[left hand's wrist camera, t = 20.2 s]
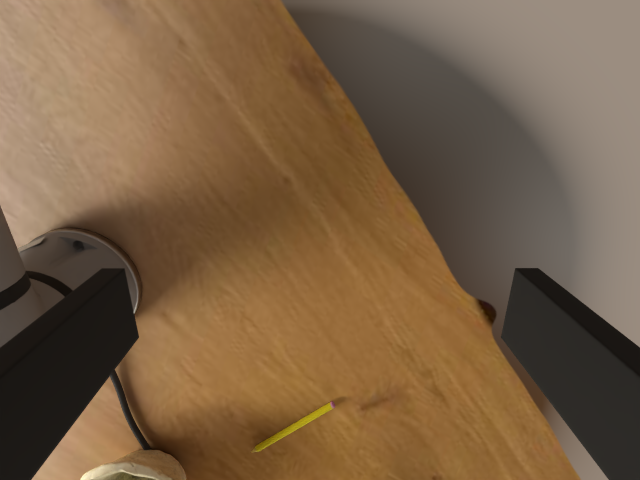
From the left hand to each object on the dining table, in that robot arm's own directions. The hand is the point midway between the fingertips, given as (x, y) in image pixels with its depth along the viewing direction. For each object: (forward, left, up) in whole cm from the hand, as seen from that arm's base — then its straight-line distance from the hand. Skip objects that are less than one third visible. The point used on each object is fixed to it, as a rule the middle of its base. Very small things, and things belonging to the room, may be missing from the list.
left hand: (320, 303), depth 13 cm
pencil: (-36, +22, -33) cm, 53 cm away
